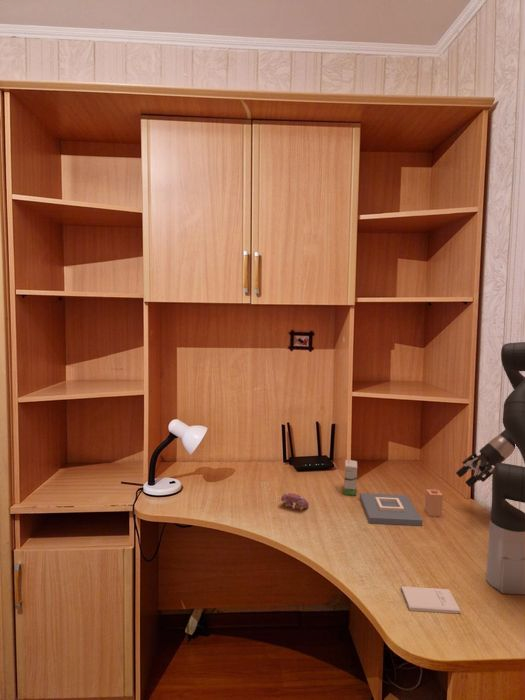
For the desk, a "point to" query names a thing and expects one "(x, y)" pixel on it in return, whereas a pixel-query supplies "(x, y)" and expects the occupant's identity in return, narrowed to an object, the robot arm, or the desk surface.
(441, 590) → the external hard drive
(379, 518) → the board
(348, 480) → the ink box
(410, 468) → the desk surface
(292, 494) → the purple lumpy oblong
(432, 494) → the block
